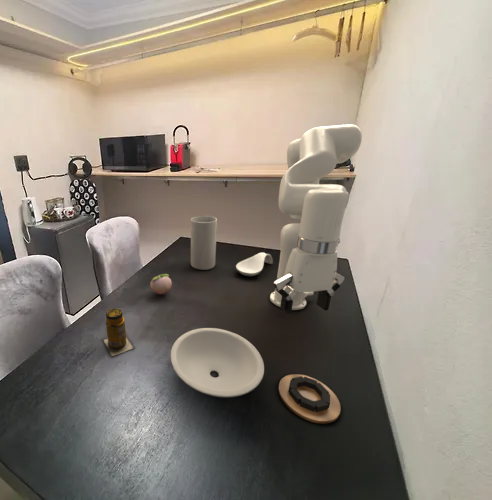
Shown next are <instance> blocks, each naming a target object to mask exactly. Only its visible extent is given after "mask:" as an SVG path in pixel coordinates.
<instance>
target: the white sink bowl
mask: <svg viewBox="0 0 492 500" xmlns="http://www.w3.org/2000/svg"><path fill="white" fill-rule="evenodd" d="M170 362H171V365H172V368H173V370H174V371H175V374H176V376H178V377H179V378H180V380H181V381H182V382H184V383H185V384H186V385H188V386H189V387H190V388H192V389H194V390H195V391H197V392H200V393H202V394H205V395H208V396H212V397H218V398H235V397H240V396H243V395H246V394H248V393H250V392H252V391H254V390H255V388H256V389H257V387H258V386H260V383H261V382H262V380H263V378H264V375H265V364H264V360H263V358H262V356H261V354H260V352H259V351H258V349H257V348H256V347H255V346H254V345H253V344H252V343H251V342H250V341H248V340H247V339H246V338H244V337H242V336H241V335H239V334H238V333H234V332H232V331H229V330H227V329H222V328H216V327H201V328H196V329H195V328H194V329H192V330H189V331H186V332H185V333H183V334H181V335H180V336H179V337H178V338H177V339H176V340H175V342H174V343H173V345H172V347H171V350H170ZM211 372H216V373H217V374H218V376H217V377H214V376H212V375H211Z"/></svg>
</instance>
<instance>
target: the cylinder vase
mask: <svg viewBox="0 0 492 500" xmlns="http://www.w3.org/2000/svg"><path fill="white" fill-rule="evenodd" d="M217 232H218V218H217V217H215V216H210V215H199V216H194V217H191V218H190V266H191V267H192V268H194V269H195V270H198V271H199V270H201V271H208V270H211V269H213V268H214V267H215V266H216V253H217V234H218V233H217Z"/></svg>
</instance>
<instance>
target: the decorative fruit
mask: <svg viewBox="0 0 492 500" xmlns="http://www.w3.org/2000/svg"><path fill="white" fill-rule="evenodd" d="M172 285H173V283H172V279H171V278H170V274H168V273H160V274H158V275H157V276H154V277H153V278H152V279H151V281H150V289H151V290H152V292H154V293H155V294H156V295H164V294H167V293H169V292H170V290H171V289H172Z"/></svg>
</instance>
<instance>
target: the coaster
mask: <svg viewBox="0 0 492 500" xmlns="http://www.w3.org/2000/svg"><path fill="white" fill-rule="evenodd" d="M300 376H302V377H303V378H304V377H307V378H310V379H313V380H315V381H317V383H320V384H321V385H322V386H323V387H324V388H325V389H326V390H327V391H328V392H329V394H330V405H329V408H328V409H327V410H324V411H320V412H316V411H315V410H314V412H313V411H311V410H308V409H306V408H303V407H301V406H300V404H297V403H296V402H295V401H294V399H293V398H292V397H291V396H290V395H289V392H288V391H289V385H290V380H292V378H296V377H300ZM277 390H278V394H279V397H280V399H281V401H282V403H283V404H284V405H285V406H286V407H287V408H288V409H289V410H290V411H291V412H292V413H293V414H295V415H296V416H298V417H300V418H302V419H304V420H305V421H309V422H311V423H315V424H323V425H324V424H330V423H333V422H335V421H336V420H338V419H339V417H340V414H341V409H342V407H341V402H340V400H339V398H338V397H337V395H336V394H335V393H334V391H333V390H331V389H330V387H328V386H327V385H326V384H324V383H323V382H322V381H320V380H318V379H316V378H314V377H311V376H308V375H305V374H298V373H296V374H295V373H294V374H288V375H285V376H284V377H282V378H281V379H280V381H279V383H278V389H277ZM297 390H298V392H299V393H300V394H301V395H302V396H303V397H305V398H307V399H310V400H312V401H317V400H321V396H320V395H319V394H318V393H317V392H316V391H315V390H314V389H311V388H309V387H306V386H301V387H297Z"/></svg>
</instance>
